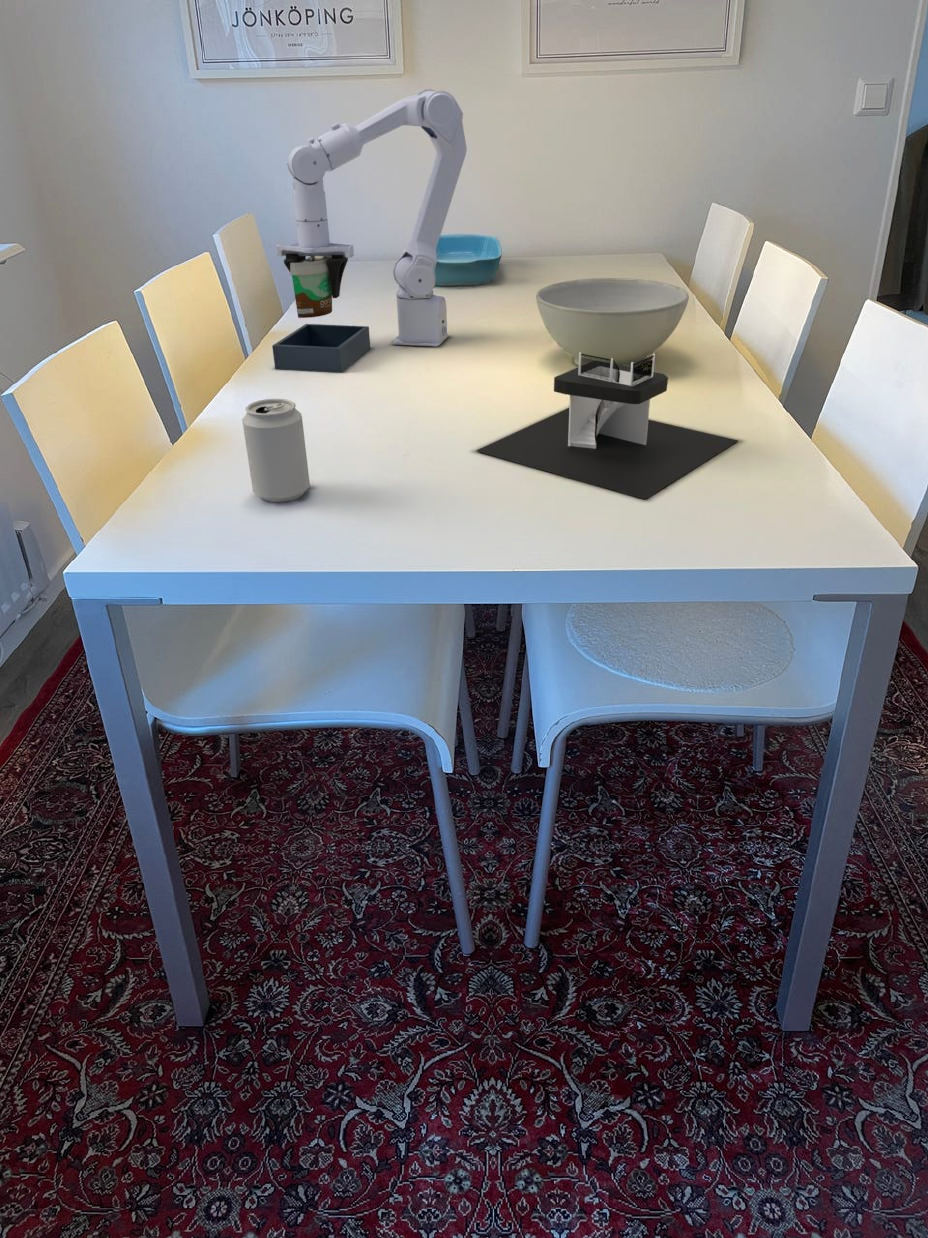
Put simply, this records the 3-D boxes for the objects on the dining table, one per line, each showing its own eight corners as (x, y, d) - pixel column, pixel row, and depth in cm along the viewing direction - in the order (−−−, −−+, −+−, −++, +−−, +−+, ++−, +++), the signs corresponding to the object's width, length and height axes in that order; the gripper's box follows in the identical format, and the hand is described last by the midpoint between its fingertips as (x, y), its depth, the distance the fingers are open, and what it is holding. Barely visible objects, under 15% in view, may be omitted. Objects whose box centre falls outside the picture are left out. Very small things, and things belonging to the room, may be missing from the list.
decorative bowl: (697, 349, 178) (704, 283, 171) (660, 390, 157) (667, 317, 151) (563, 336, 187) (565, 273, 181) (512, 374, 167) (512, 304, 160)
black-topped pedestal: (475, 451, 135) (474, 358, 128) (578, 404, 152) (582, 320, 145) (645, 500, 119) (654, 397, 112) (738, 441, 136) (751, 349, 129)
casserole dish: (504, 289, 226) (504, 257, 222) (411, 291, 226) (410, 260, 223) (498, 259, 258) (498, 232, 254) (417, 261, 258) (416, 234, 254)
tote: (370, 348, 183) (368, 326, 181) (341, 372, 170) (339, 348, 168) (308, 345, 186) (305, 323, 184) (274, 368, 173) (271, 345, 171)
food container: (326, 320, 173) (321, 263, 168) (295, 319, 175) (289, 263, 169) (346, 304, 184) (342, 251, 179) (316, 304, 185) (311, 250, 180)
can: (256, 483, 127) (243, 396, 120) (312, 480, 127) (302, 393, 121) (250, 506, 120) (236, 415, 114) (309, 503, 121) (298, 412, 114)
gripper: (266, 222, 169) (275, 300, 176) (341, 223, 166) (348, 302, 173) (281, 216, 175) (290, 291, 182) (354, 217, 172) (360, 293, 179)
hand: (319, 296), depth 178 cm, fingers closed on food container, 6 cm apart
